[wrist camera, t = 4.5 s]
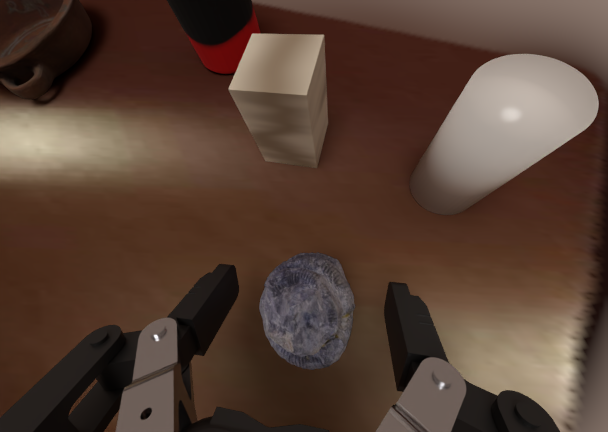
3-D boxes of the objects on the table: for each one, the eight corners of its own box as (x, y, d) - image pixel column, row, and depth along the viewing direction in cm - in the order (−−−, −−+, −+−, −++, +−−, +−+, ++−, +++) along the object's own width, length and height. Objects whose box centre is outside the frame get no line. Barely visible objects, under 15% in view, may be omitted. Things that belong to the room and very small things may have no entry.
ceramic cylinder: (398, 196, 19) (449, 114, 10) (425, 150, 20) (490, 42, 11) (461, 226, 17) (579, 160, 9) (486, 175, 18) (612, 73, 10)
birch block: (265, 161, 22) (228, 89, 14) (279, 118, 23) (252, 33, 16) (317, 168, 21) (306, 95, 13) (328, 123, 22) (324, 34, 15)
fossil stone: (365, 290, 17) (402, 280, 7) (324, 357, 16) (308, 445, 6) (306, 249, 18) (275, 200, 9) (265, 308, 17) (182, 321, 8)
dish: (-18, 134, 29) (-86, 102, 24) (3, 31, 37) (-45, -8, 32) (112, 83, 29) (68, 41, 24) (105, -9, 37) (71, -54, 32)
